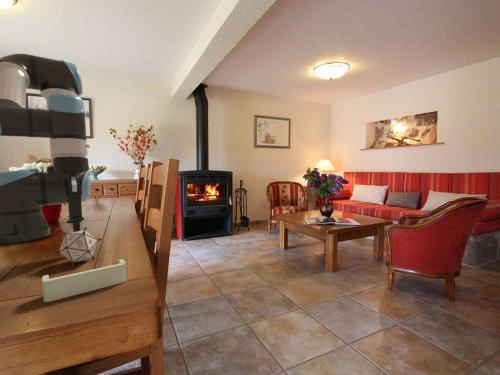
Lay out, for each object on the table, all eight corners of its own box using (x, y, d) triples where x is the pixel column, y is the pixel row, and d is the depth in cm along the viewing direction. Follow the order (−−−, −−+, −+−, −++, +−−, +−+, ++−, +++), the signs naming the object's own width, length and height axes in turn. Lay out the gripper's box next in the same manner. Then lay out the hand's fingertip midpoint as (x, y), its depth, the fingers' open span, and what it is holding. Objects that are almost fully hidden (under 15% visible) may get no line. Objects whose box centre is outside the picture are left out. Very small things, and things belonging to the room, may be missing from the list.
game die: (83, 274, 65) (95, 236, 70) (100, 267, 60) (112, 227, 66) (42, 265, 59) (59, 225, 64) (57, 258, 54) (74, 215, 60)
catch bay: (44, 295, 45) (42, 275, 45) (123, 275, 53) (122, 259, 53) (43, 303, 43) (41, 282, 42) (127, 281, 50) (126, 263, 50)
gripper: (90, 155, 64) (97, 248, 66) (85, 158, 75) (91, 239, 76) (52, 154, 60) (60, 255, 61) (52, 158, 70) (59, 244, 72)
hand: (77, 246), depth 69 cm, fingers closed
